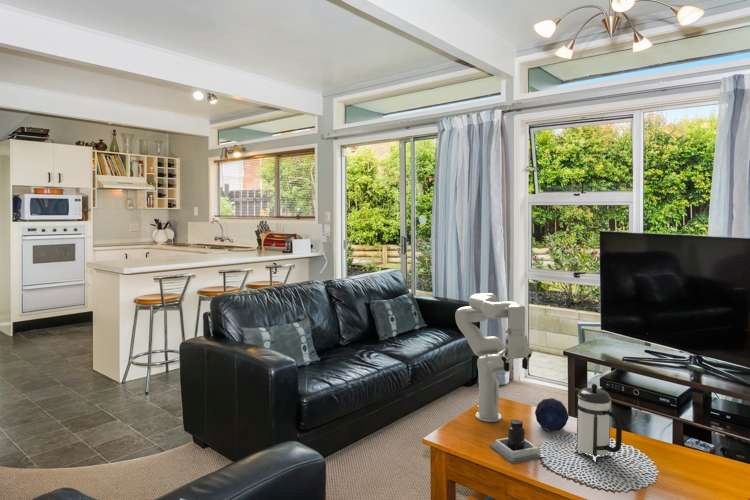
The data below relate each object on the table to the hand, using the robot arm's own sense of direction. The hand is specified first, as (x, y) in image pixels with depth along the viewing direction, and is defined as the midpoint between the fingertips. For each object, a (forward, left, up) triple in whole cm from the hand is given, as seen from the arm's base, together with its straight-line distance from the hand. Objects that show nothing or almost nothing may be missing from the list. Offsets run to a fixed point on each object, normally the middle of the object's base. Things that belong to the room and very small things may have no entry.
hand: (515, 369), depth 225 cm
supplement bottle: (+14, -9, -30) cm, 34 cm away
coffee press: (+28, +20, -31) cm, 46 cm away
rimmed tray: (+14, -9, -30) cm, 35 cm away
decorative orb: (0, +20, -31) cm, 36 cm away
